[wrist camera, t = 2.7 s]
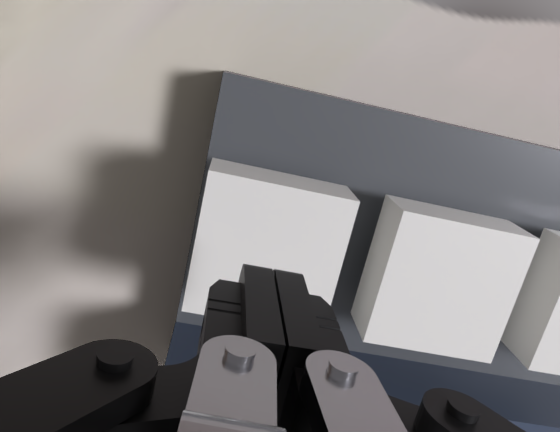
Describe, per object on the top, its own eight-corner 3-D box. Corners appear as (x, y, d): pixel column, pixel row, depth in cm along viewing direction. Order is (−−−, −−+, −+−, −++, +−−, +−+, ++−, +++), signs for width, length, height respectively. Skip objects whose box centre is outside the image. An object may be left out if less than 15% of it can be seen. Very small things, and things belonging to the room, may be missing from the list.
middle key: (508, 219, 18) (540, 239, 16) (465, 333, 19) (491, 363, 17) (385, 194, 17) (403, 210, 15) (350, 312, 18) (362, 342, 16)
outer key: (347, 185, 17) (360, 201, 15) (314, 306, 18) (322, 335, 16) (212, 157, 16) (208, 170, 14) (187, 283, 18) (181, 311, 16)
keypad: (630, 166, 21) (753, 199, 16) (526, 407, 24) (601, 498, 19) (225, 70, 18) (219, 73, 13) (171, 351, 22) (150, 437, 17)
